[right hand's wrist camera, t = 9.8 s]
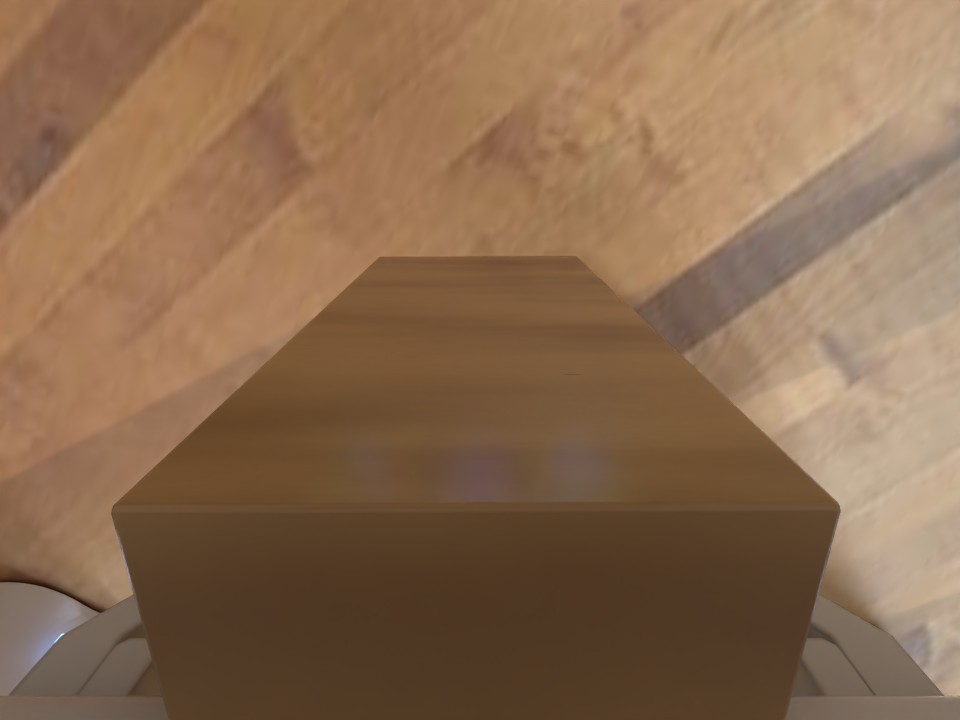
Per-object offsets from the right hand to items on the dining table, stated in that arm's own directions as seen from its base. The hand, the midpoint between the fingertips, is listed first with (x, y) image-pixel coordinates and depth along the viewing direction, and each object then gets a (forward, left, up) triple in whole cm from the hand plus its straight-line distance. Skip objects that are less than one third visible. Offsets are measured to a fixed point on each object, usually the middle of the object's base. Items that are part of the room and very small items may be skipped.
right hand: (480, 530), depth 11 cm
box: (-9, +2, -7) cm, 12 cm away
